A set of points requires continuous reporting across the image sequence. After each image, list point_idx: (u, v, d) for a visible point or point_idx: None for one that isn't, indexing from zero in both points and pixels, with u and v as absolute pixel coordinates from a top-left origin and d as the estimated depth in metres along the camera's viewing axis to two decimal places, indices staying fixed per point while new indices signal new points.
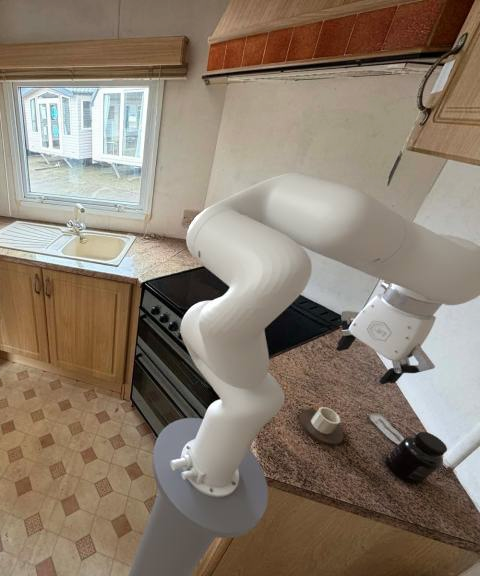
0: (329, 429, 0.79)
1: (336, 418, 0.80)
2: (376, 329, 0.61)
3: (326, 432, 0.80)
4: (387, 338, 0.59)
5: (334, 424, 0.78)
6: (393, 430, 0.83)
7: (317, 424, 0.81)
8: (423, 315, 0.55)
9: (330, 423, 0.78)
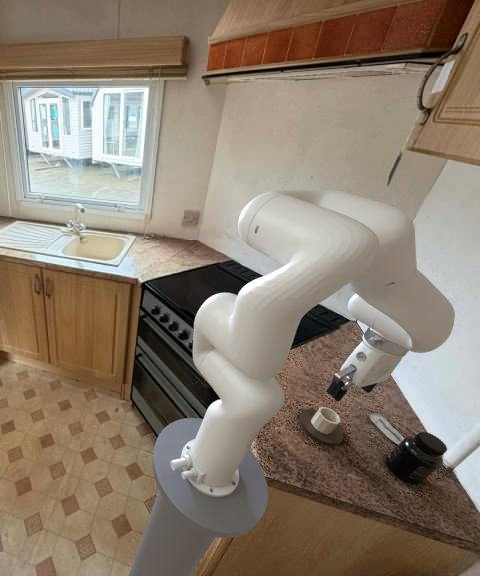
0: (329, 429, 0.79)
1: (336, 418, 0.80)
2: (380, 372, 0.67)
3: (326, 432, 0.80)
4: (387, 371, 0.68)
5: (334, 424, 0.78)
6: (393, 430, 0.83)
7: (317, 424, 0.81)
8: None
9: (330, 423, 0.78)
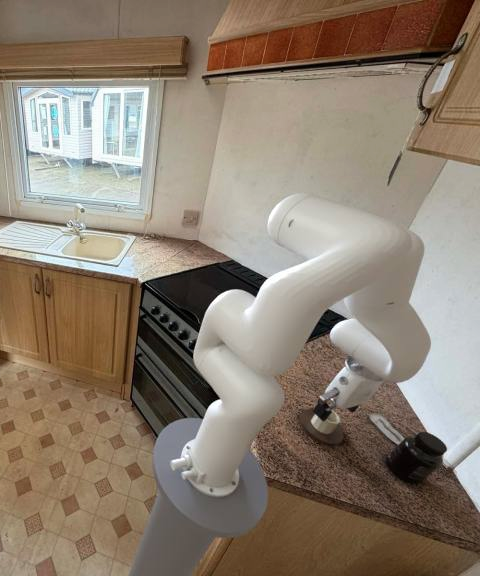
0: (329, 429, 0.79)
1: (336, 418, 0.80)
2: (362, 395, 0.71)
3: (326, 432, 0.80)
4: (368, 394, 0.72)
5: (334, 424, 0.78)
6: (393, 430, 0.83)
7: (317, 424, 0.81)
8: None
9: (330, 423, 0.78)
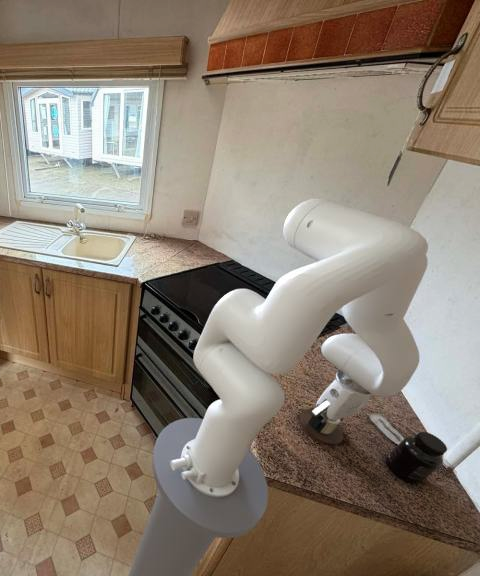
0: (329, 429, 0.79)
1: None
2: (351, 407, 0.74)
3: (326, 432, 0.80)
4: (357, 406, 0.75)
5: (334, 424, 0.78)
6: (393, 430, 0.83)
7: None
8: None
9: (330, 423, 0.78)
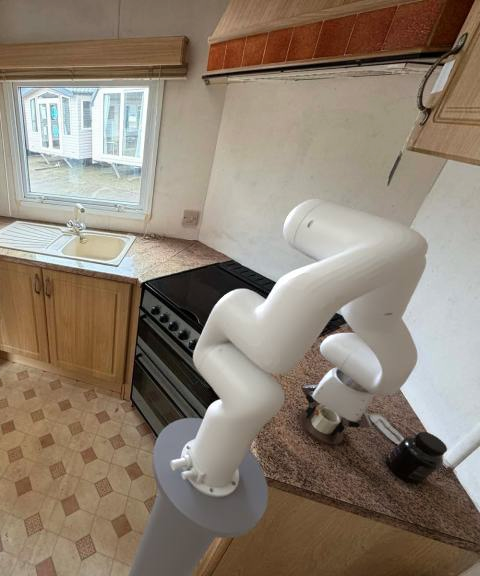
0: (335, 427, 0.80)
1: (330, 412, 0.81)
2: None
3: (332, 430, 0.80)
4: None
5: (339, 421, 0.79)
6: (393, 430, 0.83)
7: (326, 430, 0.79)
8: None
9: (338, 423, 0.78)
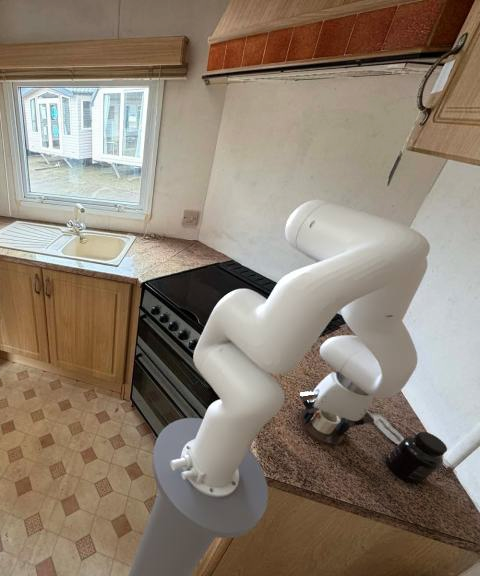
0: None
1: None
2: None
3: None
4: None
5: None
6: (393, 430, 0.83)
7: (330, 430, 0.79)
8: (336, 372, 0.75)
9: (339, 422, 0.79)
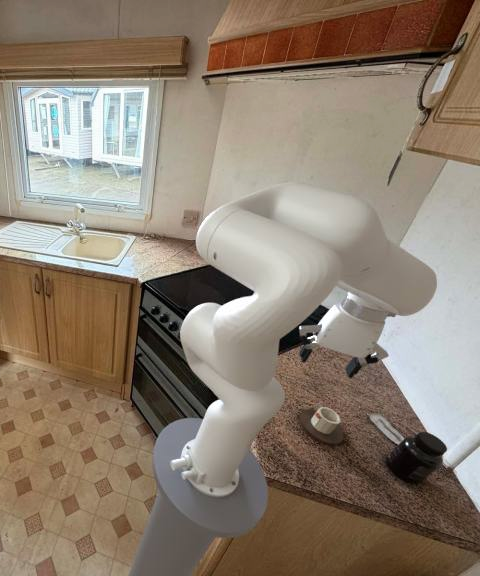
0: None
1: (327, 411, 0.82)
2: None
3: None
4: None
5: None
6: (393, 430, 0.83)
7: (330, 430, 0.79)
8: None
9: (339, 421, 0.79)
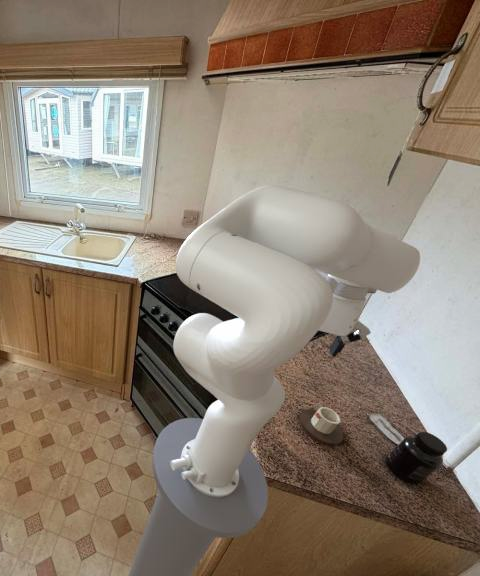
0: None
1: (327, 411, 0.82)
2: None
3: None
4: None
5: None
6: (393, 430, 0.83)
7: (330, 430, 0.79)
8: None
9: (339, 421, 0.79)
